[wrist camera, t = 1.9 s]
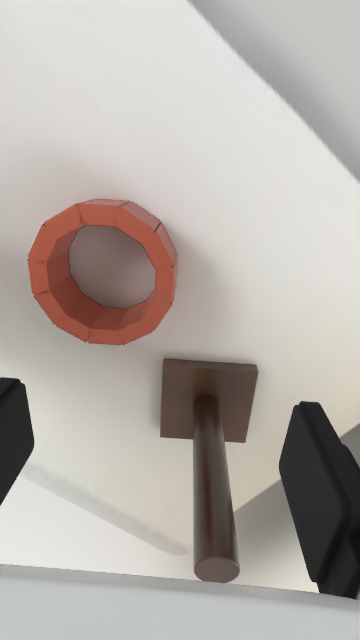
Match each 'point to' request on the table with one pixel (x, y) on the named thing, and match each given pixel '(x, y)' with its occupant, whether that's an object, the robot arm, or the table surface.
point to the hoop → (65, 296)
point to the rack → (209, 450)
